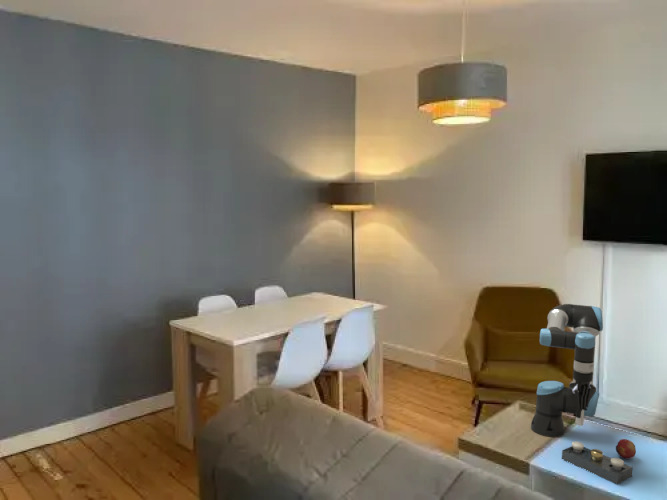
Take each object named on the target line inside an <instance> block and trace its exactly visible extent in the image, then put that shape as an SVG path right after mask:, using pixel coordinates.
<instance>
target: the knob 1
mask: <svg viewBox="0 0 667 500" xmlns="http://www.w3.org/2000/svg"><path fill="white" fill-rule="evenodd" d="M571 446H572V447H573V451H575V452H577V453H579V454H581V453H582V450H583V449H584V447H585V444H584V443H582V442H580V441H572V442H571Z"/></svg>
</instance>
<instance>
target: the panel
mask: <svg viewBox="0 0 667 500" xmlns="http://www.w3.org/2000/svg"><path fill="white" fill-rule="evenodd" d="M591 450H592V449H590V448H587V447H585V446H584V449H583V450H582V453H581V454H579V453H577V452H575V451H573V447H572V445H571V446H569V447H567V448H564V449H562V451H561V460H562V459H564V460H563V461H565V460H566V461H565V462H567V461H568V462H567V463H569V462H570V464H571V463H572V464H571V465H573V464H574V466H576V467H578V468H580V467H581V468H580V469H582V468H584V469H586V470H585V471H587V470H588V471H587V472H589V471H590V472H589V473H591V472H592V473H591V474H593V473H594V475H595V474H596V476H598V477H600V478H602V479H605V480H607V481H609V482H610V483H614V484H615V485H620V484H621V483H623V482H626V481H627V480H629V479H631V478H632V477H633V471H634V468H633V466H631V465H628V464H626V463H624V466H623V467H622V470H621V471H619V470H616V469H614V468H612V464H611V458H612V457H609V456H607V455H604V454H603V459H602V461H595V460H593V459H591ZM584 469H583V470H584Z"/></svg>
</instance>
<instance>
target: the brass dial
mask: <svg viewBox="0 0 667 500" xmlns="http://www.w3.org/2000/svg"><path fill="white" fill-rule="evenodd" d="M590 450H591V459H593V460H595V461H602V459H603V455H604V451H603V450H601V449H597V448H593V449H590Z"/></svg>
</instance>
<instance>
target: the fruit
mask: <svg viewBox="0 0 667 500" xmlns="http://www.w3.org/2000/svg"><path fill="white" fill-rule="evenodd" d="M615 451H616V453H617V455H618V456H619V457H620V458H623V459H626V460H630V459H633V458H634V457H635V455H636V453H637V449H636V445H635V443H634V442H633V441H631V440H629V439H627V438H621V439H619V441H618V442H617V443H616V445H615Z"/></svg>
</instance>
